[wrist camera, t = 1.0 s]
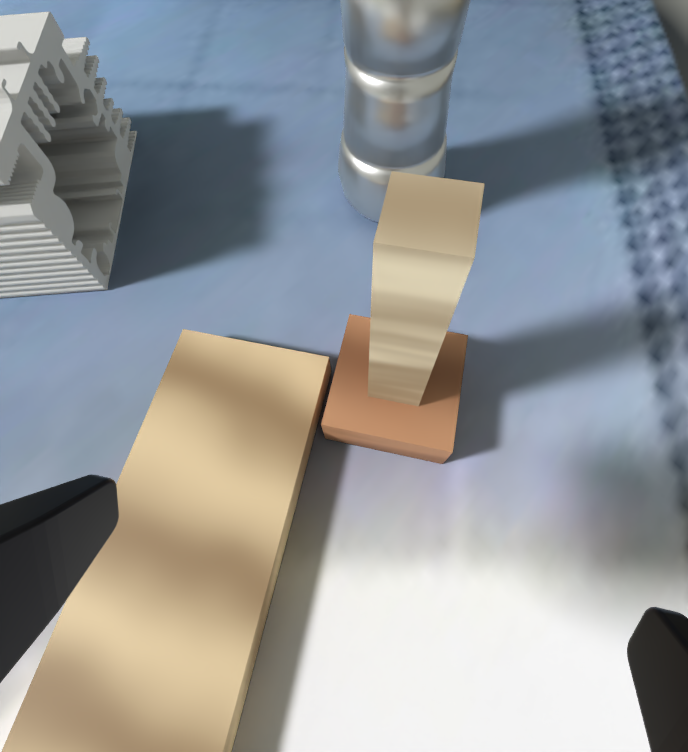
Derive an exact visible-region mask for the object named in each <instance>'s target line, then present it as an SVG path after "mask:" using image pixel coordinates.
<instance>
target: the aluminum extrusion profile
mask: <svg viewBox="0 0 688 752" xmlns="http://www.w3.org/2000/svg"><path fill="white" fill-rule="evenodd" d="M88 45H90V42H89V40H88V38H87V37H81V38H69V39H64V35H63V33H62V31H61V29H60V28H59V26H58V24H57V22H56V21H55V19H54V17H53V15H52V14H51V12H40V13H28V14H16V15H4V16H0V298H8V297H21V296H34V295H46V294H59V293H72V292H85V291H97V290H107V289H108V283H109V278H110V273H111V268H112V262H113V257H114V252H115V247H116V241H117V236H118V231H119V225H120V220H121V215H122V210H123V204H124V199H125V194H126V188H127V183H128V178H129V173H130V167H131V162H132V157H133V152H134V146H135V141H136V136H137V131H130V128H131V127H130V124H131V120H130V118H122V115H123V111H122V109H121V108H118V109H113V105H114V102H113V99H112V98H109V99H103V98H104V94H105V89H106V85H107V82H106V79H105V78H104V77H103V78H95V77H96V76H97V75H96V72H97V68H98V63H99V59H98V57H97V56H96V55H95V56H86V55H88V52H87V50H89V48H88Z"/></svg>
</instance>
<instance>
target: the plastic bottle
mask: <svg viewBox="0 0 688 752" xmlns="http://www.w3.org/2000/svg"><path fill="white" fill-rule="evenodd" d="M340 2H341V15H342V28H343V41H344V44H345V46H344V54H345V67H346V76H345V99H344V123H343V131H342V135H341V141H340V148H339V160H338V172H339V176H340V180H341V184H342V188H343V192H344V195H345V197H346V199H347V200H348V202H349V203H350V205H351V206H352V207H353V208H354V209H355V210H356V211H357V212H359V213H360V214H361V215H363V216H364V217H365V218H367V219H369V220H372V221H374V222H378V223H379V219H380V215H381V211H382V207H383V203H384V199H385V195H386V191H387V187H388V183H389V179H390V175H391V171H394V172H402V173H409V174H417V175H424V176H432V177H439V178H444V175H445V164H446V150H447V139H446V125H447V116H448V108H449V99H450V90H451V82H452V75H453V71H454V67H455V62H456V58H457V52H458V47H459V44H460V42H461V37H462V33H463V29H464V25H465V21H466V16H467V12H468V8H469V4H470V0H340Z"/></svg>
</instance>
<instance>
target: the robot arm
mask: <svg viewBox="0 0 688 752" xmlns="http://www.w3.org/2000/svg"><path fill="white" fill-rule="evenodd" d="M118 518H119V509H118V498H117V486H116V483H115V481H114V480H112V479H111V478H107V477H103V476H98V475H87V476H84V477H81V478H78V479H75V480H72V481H69V482H66V483H63V484H60V485H57V486H54V487H51V488H48V489H46V490H43V491H40V492H37V493H34V494H31V495H28V496H25V497H22V498H19V499H16V500H13V501H10V502H7V503H4V504H1V505H0V683H1V681H2V680H3V679H4V678H5V676H6V675H7V674H8V673H9V672H10V670H11V669H12V668H13V667H14V665H15V664H16V663H17V662H18V661H19V659H20V658H21V657H22V656H23V654H24V653H25V652H26V651H27V649H28V648H29V647H30V646H31V645H32V643H33V642H34V641H35V640H36V638H37V637H38V636H39V635H40V634H41V632H42V631H43V630H44V629H45V627H46V626H47V625H48V624H49V622H50V621H51V620H52V619H53V617H54V616H55V615H56V613H57V612H58V611H59V610H60V608H61V607H62V605H63V604H64V603H65V601H66V600H67V598H68V597H69V596H70V594H71V593H72V591H73V590H74V588H75V587H76V585H77V584H78V582H79V581H80V580H81V578H82V577H83V575H84V574H85V572H86V571H87V569H88V568H89V566H90V565H91V563H92V562H93V560H94V559H95V557H96V556H97V555H98V553H99V552H100V550H101V549H102V547H103V546H104V544H105V543H106V541H107V540H108V538H109V537H110V535H111V534H112V532H113V531H114V529H115V527H116V525H117V522H118ZM627 656H628V662H629V666H630V670H631V674H632V678H633V681H634V685H635V689H636V693H637V697H638V701H639V705H640V709H641V713H642V717H643V721H644V725H645V729H646V733H647V737H648V741H649V745H650V749H651V752H688V618H687V617H685V616H684V615H682V614H680V613H678V612H674V611H670V610H666V609H662V608H657V607H651V608H649V609H647V610H646V611H645V613H644V614H643V616H642V618H641V620H640V622H639V623H638V625H637V627H636V629H635V631H634V633H633V634H632V636H631V638H630V640H629V643H628V647H627Z"/></svg>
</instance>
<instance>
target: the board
mask: <svg viewBox="0 0 688 752" xmlns="http://www.w3.org/2000/svg"><path fill="white" fill-rule="evenodd" d="M330 375H331V366H330V360H329V357H327V356H321V355H316V354H311V353H306V352H300V351H295V350H290V349H285V348H279V347H274V346H269V345H264V344H258V343H253V342H248V341H243V340H238V339H232V338H227V337H222V336H217V335H211V334H206V333H201V332H196V331H190V330H185V329H183V331H182V333H181V335H180V338H179V340H178V342H177V345H176V347H175V349H174V352H173V354H172V356H171V359H170V361H169V363H168V366H167V368H166V370H165V372H164V375H163V377H162V379H161V382H160V384H159V386H158V389H157V391H156V393H155V396H154V398H153V400H152V403H151V405H150V407H149V410H148V412H147V414H146V417H145V419H144V421H143V424H142V426H141V428H140V431H139V433H138V435H137V438H136V440H135V442H134V445H133V447H132V449H131V452H130V454H129V456H128V459H127V461H126V463H125V466H124V468H123V470H122V473H121V475H120V477H119V480H118V482H117V484H116V486H117V498H118V509H119V518H118V522H117V525H116V527H115V529H114V531H113V532H112V534H111V535H110V537H109V538H108V540H107V541H106V543H105V544H104V546H103V547H102V549H101V550H100V552H99V553H98V555H97V556H96V557H95V559H94V560H93V562H92V563H91V565H90V566H89V568H88V569H87V571H86V572H85V574H84V575H83V577H82V578H81V580H80V581H79V582H78V584H77V585H76V587H75V588H74V590H73V591H72V593H71V594H70V596H69V597H68V598H67V601H66V603H65V605H64V607H63V610H62V612H61V614H60V617H59V619H58V621H57V624H56V626H55V628H54V631H53V633H52V635H51V638H50V640H49V642H48V645H47V647H46V649H45V652H44V654H43V656H42V659H41V661H40V663H39V666H38V668H37V670H36V673H35V675H34V677H33V680H32V682H31V684H30V687H29V689H28V691H27V694H26V696H25V698H24V701H23V703H22V705H21V708H20V710H19V712H18V715H17V717H16V719H15V722H14V724H13V726H12V728H11V731H10V733H9V735H8V738H7V740H6V742H5V745H4V747H3V749H2V752H232V748H233V744H234V740H235V737H236V733H237V729H238V725H239V721H240V717H241V714H242V710H243V706H244V702H245V698H246V695H247V691H248V687H249V683H250V679H251V676H252V672H253V668H254V664H255V660H256V657H257V653H258V649H259V645H260V641H261V637H262V634H263V630H264V626H265V622H266V618H267V615H268V611H269V607H270V603H271V599H272V596H273V592H274V588H275V584H276V580H277V577H278V573H279V569H280V565H281V561H282V557H283V554H284V550H285V546H286V542H287V538H288V535H289V531H290V527H291V523H292V519H293V516H294V512H295V508H296V504H297V500H298V497H299V493H300V489H301V485H302V481H303V477H304V474H305V470H306V466H307V462H308V458H309V455H310V451H311V447H312V443H313V439H314V436H315V432H316V428H317V424H318V420H319V417H320V413H321V409H322V405H323V401H324V397H325V394H326V390H327V386H328V382H329V378H330Z"/></svg>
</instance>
